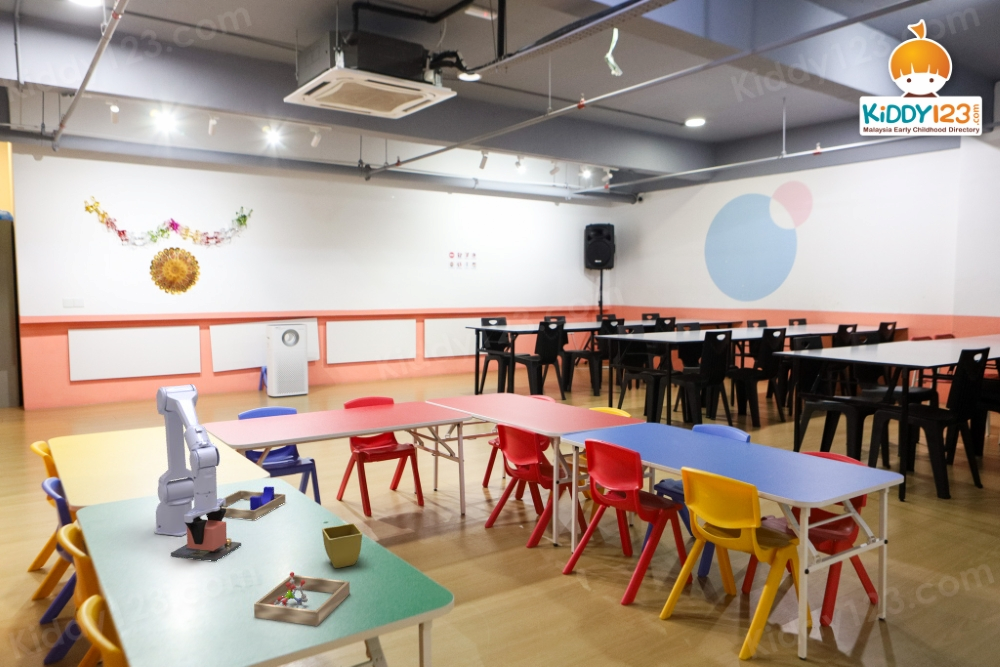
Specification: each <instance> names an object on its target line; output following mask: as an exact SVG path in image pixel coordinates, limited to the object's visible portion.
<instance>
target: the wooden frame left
mask: <svg viewBox="0 0 1000 667" xmlns="http://www.w3.org/2000/svg"><path fill="white" fill-rule="evenodd" d="M261 495H263V491H253V490H238V491H236V492H234V493H232V494H230V495H228V496H226V497H223V498H222V499H226V505H225V506H222V508H226V513H225V515H224V517H232V518H231V519H234V518H243V519H252V520H251V521H253V520H255V519H257V518H258V517H260V516H262V515H264V514H266V513H267V514H269V513H270V512H269V511H271V510H273V509H274V508H276V507H278V506H279V505H281V504H283V503H285V504H286V494H284V493H275V492H274V500H272V501H270V502H268V503H267V504H265V505H263V506H261V507H259V508H258V509H256V510H250V509H245V508H234V507H229V506H231V505H233V504H235V503H237V502H239V501H241V500H240V499H247V500H246V501H250V498H251V497H252V496H253V497H259V496H261ZM238 500H239V501H238ZM236 501H237V502H236ZM234 502H235V503H234ZM232 503H233V504H232ZM230 504H231V505H230ZM228 505H229V506H228ZM283 505H284V504H283ZM226 506H227V507H226ZM281 506H282V505H281ZM278 508H279V507H278ZM276 509H277V508H276ZM274 510H275V509H274ZM274 510H273V511H274ZM268 512H269V513H268ZM271 512H272V511H271ZM267 514H266V515H267ZM264 516H265V515H264ZM224 517H223V518H224ZM262 517H263V516H262ZM260 518H261V517H260ZM243 519H242V520H243ZM257 520H258V519H257ZM255 521H256V520H255Z"/></svg>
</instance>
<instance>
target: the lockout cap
mask: <svg viewBox="0 0 1000 667" xmlns="http://www.w3.org/2000/svg"><path fill="white" fill-rule="evenodd" d="M202 520H207V522H206V525H205V528H204V539H203V544H201V545H199V544H195V543H194V540H193V537H192V534H191V532H190V530H189V528H188V527H187V533H186V541H187V542H186V544H187V548H193V549H201V550H209V551H214V550H215V549H217V548H219V547H221V546H222V545H224V544H226V543H227V539H228V538H227V534H228V533H227V521H223V520H222V521H214V520H208V519H204V518H202Z"/></svg>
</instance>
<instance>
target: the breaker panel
mask: <svg viewBox="0 0 1000 667" xmlns="http://www.w3.org/2000/svg"><path fill="white" fill-rule="evenodd" d="M239 546H241V547H242V542H238V541H232V538H227V543H226V544H224V545H222V546H221V547H219V548H217V549H215V550H214V551H209V550H200V549H193V548H187V543H186V544H185V545H182V546H181V547H179V548H177V549H175V550H173V551H171V552H170V557H171V556H172V557H173V558H179V557H181V559H188V558H193V559H192V560H196V559H201V560H200V561H204V560H211V561H210V562H212V561H216V562H218V561H219V560H218V559H220V558H221V559H223V558H224V557H226V556H228V555H229V554H230V552H231V551H233V550H234V551H236V550H237V549H239V548H240V547H239ZM238 547H239V548H238ZM236 548H237V549H236ZM235 549H236V550H235ZM234 551H233V552H234ZM228 553H229V554H228ZM231 553H232V552H231ZM227 554H228V555H227ZM225 555H226V556H225ZM223 556H224V557H223ZM222 557H223V558H222ZM221 559H220V560H221ZM217 560H218V561H217Z"/></svg>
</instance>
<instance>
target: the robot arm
mask: <svg viewBox="0 0 1000 667" xmlns="http://www.w3.org/2000/svg"><path fill="white" fill-rule="evenodd" d="M155 395H156V408H157V409H156V410H157V414H158V415H162V416H163V419H164V426H165V438H166V441H165V443H166V455H167V470H166V471H165V472H164V473H163V474H162V475H160V477H158V481H157V482H158V486H157V497H158V499H159V501H160V502H159V503H158V505H157V506H156V509H155V531H153V532H154V534H158V535H167V536H175V537H182V536H185V535H187V527H188V528H189V530H190V532H191V534H192V537H193V540H194V543H195V544H199V545H201V544H203V539H204V528H205V525H206V522H207V520H214V521H223V518H224V515H225V513H226V508H227V507H225V508H222V506H225V505H226V499H223V498H222V497H220V498H218V492H217V491H218V490H217V488H218V487H217V483H218V482H217V467H219V466H220V462H221V460H220V458H221V457H220V451H219V448H218V446H217V445H215V444H214V442H212V441H211V439H210V437H209V434H208V431H207V430H206V428H205V426H203V425H202V424H201V425H200V423H199V422H200V421H199V418H198V414H197V411H196V406H197V403H198V399H199V393H198V390H197V387H196V386H195V384H192V383H191V384H185V385H184V384H183V385H173V386H172V385H171V386H159V388H158V389H157V391H156V394H155ZM184 429H185V431H184ZM185 443H186V446H187V448H188V450H189V451H188V452H189V458H188V459H189V464H190V469H189V468H187V464H186V463H187V462H186V449H185V448H186V446H185ZM192 502H193V506H194V507H192ZM205 515H206V519H205V520H202V519H203V518H201V517H203V516H205Z"/></svg>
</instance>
